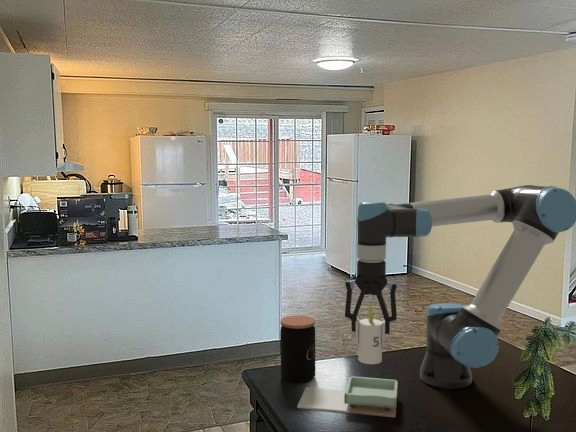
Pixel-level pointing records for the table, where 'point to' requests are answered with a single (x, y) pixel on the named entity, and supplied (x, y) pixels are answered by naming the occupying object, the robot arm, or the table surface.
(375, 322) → the candle
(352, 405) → the mint green tray
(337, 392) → the board
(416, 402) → the table surface
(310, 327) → the coffee jar
